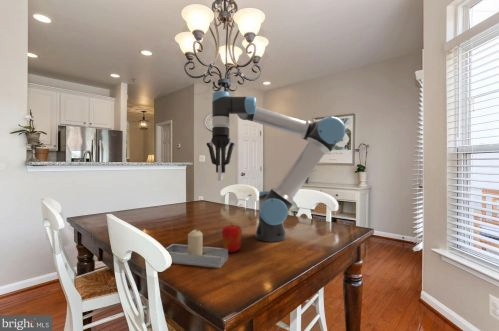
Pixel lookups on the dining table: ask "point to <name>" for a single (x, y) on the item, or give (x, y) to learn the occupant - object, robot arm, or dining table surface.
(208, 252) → the gray tray
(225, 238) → the apple
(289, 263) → the dining table surface
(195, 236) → the candle
